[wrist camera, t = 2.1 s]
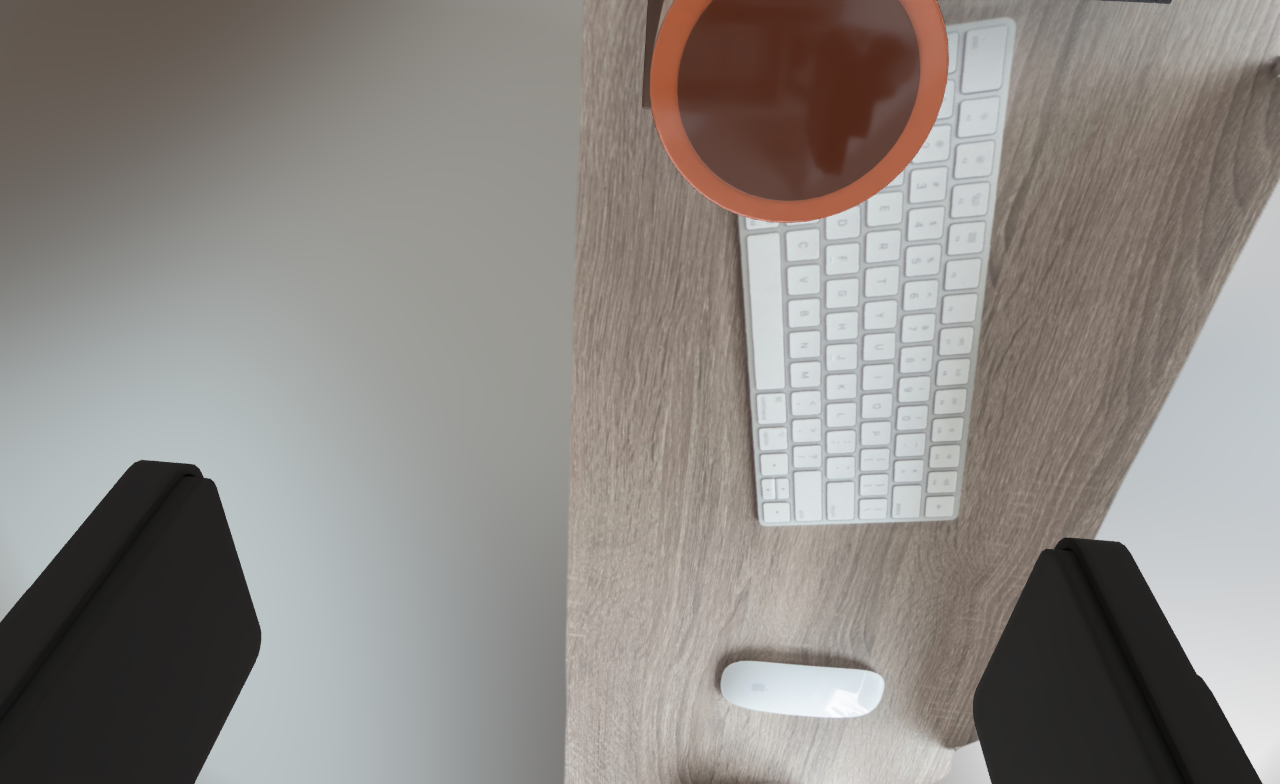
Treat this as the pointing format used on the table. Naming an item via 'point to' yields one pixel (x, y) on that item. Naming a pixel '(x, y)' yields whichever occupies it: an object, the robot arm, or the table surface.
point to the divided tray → (1148, 0)
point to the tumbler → (796, 98)
